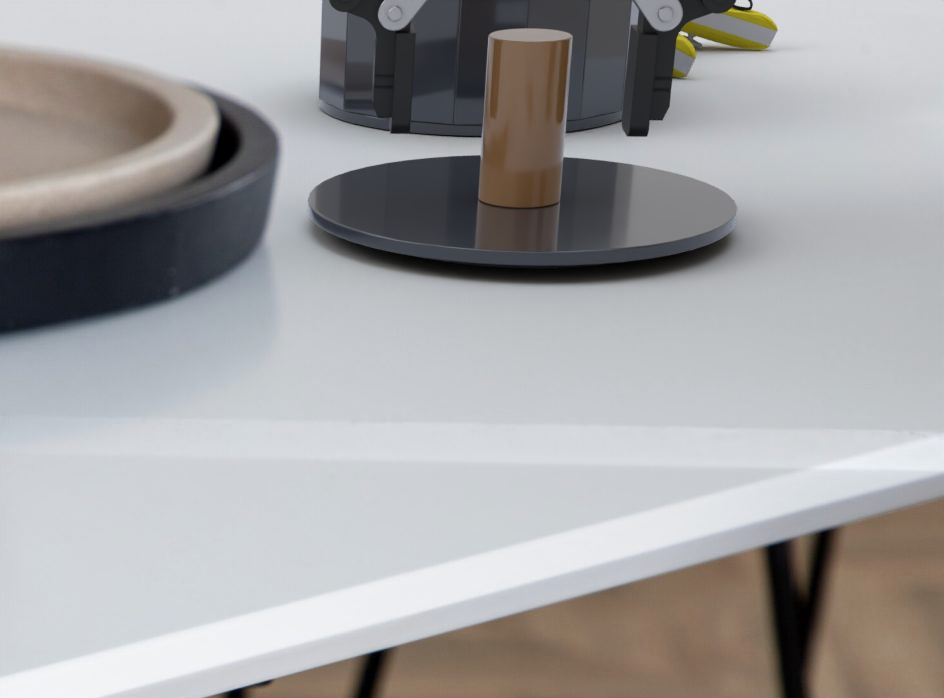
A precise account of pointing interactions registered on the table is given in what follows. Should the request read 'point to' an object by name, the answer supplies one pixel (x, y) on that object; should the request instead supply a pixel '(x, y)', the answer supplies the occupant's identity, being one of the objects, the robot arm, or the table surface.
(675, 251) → the tin lid
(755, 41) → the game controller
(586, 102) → the tin
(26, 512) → the table surface
